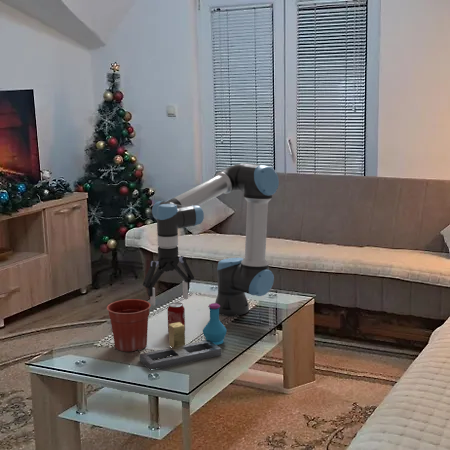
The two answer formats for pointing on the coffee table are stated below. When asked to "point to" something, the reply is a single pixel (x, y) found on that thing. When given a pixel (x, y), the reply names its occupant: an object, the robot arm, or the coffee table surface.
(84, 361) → the coffee table surface
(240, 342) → the coffee table surface
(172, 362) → the grey slotted tray
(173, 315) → the soda can
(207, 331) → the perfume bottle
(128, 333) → the flower pot
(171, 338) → the yellow wooden block
